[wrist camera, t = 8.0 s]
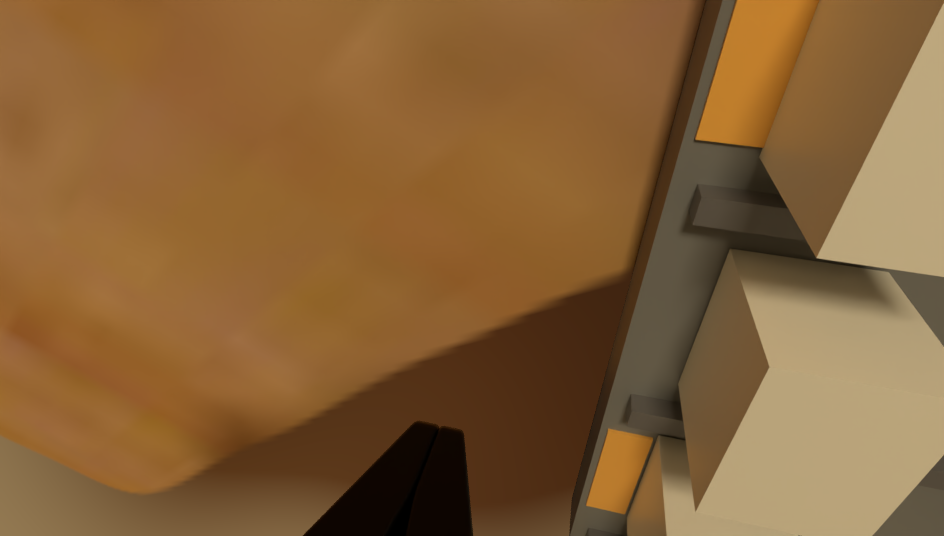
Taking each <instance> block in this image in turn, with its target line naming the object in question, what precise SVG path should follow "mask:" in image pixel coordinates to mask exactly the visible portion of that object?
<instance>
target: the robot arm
mask: <svg viewBox="0 0 944 536" xmlns="http://www.w3.org/2000/svg"><path fill="white" fill-rule="evenodd" d="M303 536H473V529H472V518H471V507H470V497H469V486H468V474H467V464H466V453H465V442H464V433H463V431H462V430H460V429H456V428H451V427H446V426H442V427H440V428H439V426H438V425H436V424H432V423H428V422H423V421H416V422H414V423H413V424H412V425H411V426H410V427H409V428H408V429H407V430H406V431H405V432H404V433H403V434H402V435H401V436H400V437H399V438H398V439H397V440H396V441H395V442H394V443H393V444H392V445H391V446H390V447H389V449H387V450H386V452H384V454H383V455H382V456H381V457H380V458H379V459H378V460H377V461H376V462H375V463H374V464H373V465H372V466H371V467H370V468H369V469H368V470H367V471H366V472H365V473H364V474H363V475H362V476H361V477H360V478H359V479H358V480H357V481H356V482H355V483H354V484H353V485H352V486H351V487H350V488H349V489H348V490H347V491H346V492H345V493H344V494H343V496H341V497H340V498H339V499H338V500H337V501H336V502H335V503H334V505H333V506H331V508H330V509H329V510H328V511H327V512H326V513H325V514H324V515H323V516H322V517H321V518H320V519H319V520H318V521H317V522H316V523H315V524H314V525H313V526H312V527H311V528H310V529H309V530H308V531H307V532H306V533H305V534H304V535H303Z"/></svg>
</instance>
